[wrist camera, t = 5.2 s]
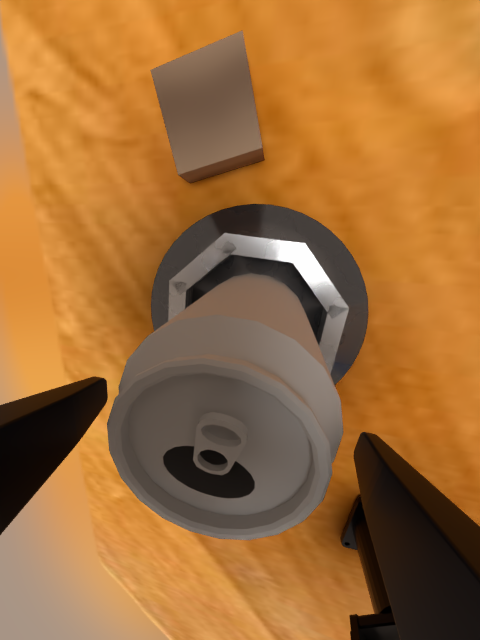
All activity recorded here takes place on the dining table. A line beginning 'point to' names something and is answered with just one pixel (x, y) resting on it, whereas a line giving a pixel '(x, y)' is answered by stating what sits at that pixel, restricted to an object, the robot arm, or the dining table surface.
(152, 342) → the can
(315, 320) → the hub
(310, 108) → the dining table surface
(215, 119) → the walnut block
